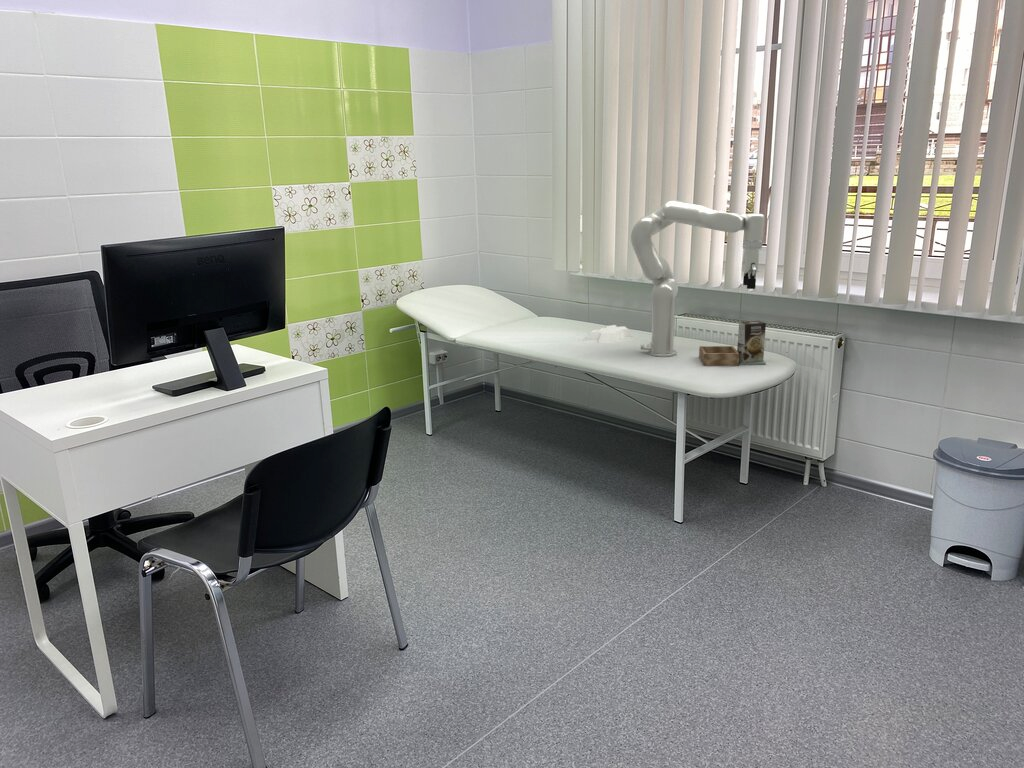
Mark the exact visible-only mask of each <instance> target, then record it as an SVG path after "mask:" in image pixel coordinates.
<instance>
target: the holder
mask: <svg viewBox="0 0 1024 768" xmlns="http://www.w3.org/2000/svg"><path fill="white" fill-rule="evenodd" d="M698 350H699V351H698V355H699V356H698V358H699V360H700V362H701V364H702V365H703V366H704V367H706V366H709V367H710V366H711V367H713V366H715V367H716V366H717V367H723V366H724V367H725V366H727V367H729V366H730V367H731V366H734V367H737V366H739V365H740V363H739V353H738V351H737V348H735V347H734V345H717V346H716V345H705V346H703V345H699V349H698Z"/></svg>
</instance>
